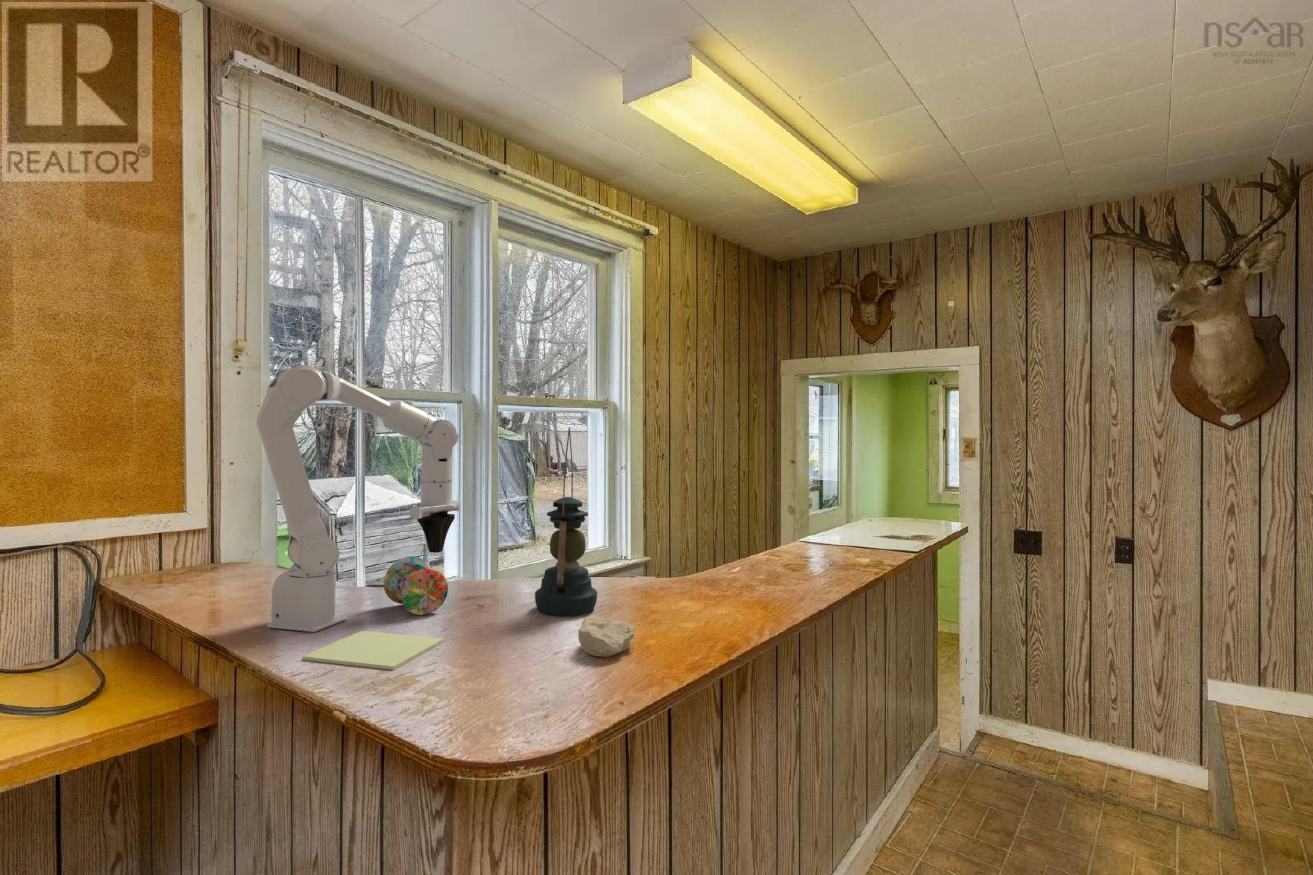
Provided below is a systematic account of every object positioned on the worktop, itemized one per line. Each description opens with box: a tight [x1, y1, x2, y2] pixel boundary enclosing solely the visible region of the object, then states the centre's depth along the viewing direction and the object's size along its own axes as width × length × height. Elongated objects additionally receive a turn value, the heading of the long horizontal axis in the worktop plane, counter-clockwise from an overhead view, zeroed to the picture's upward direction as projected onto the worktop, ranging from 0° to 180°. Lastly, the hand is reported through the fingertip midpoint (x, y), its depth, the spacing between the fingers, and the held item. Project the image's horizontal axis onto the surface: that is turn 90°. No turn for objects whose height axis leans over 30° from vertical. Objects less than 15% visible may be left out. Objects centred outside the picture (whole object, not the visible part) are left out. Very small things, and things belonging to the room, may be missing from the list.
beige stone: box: [577, 615, 636, 658], centre depth 101 cm, size 9×6×10 cm
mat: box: [302, 630, 445, 671], centre depth 99 cm, size 15×13×1 cm
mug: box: [383, 556, 449, 616], centre depth 122 cm, size 12×9×11 cm
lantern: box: [534, 426, 598, 618], centre depth 124 cm, size 14×12×35 cm
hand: (435, 551), depth 125 cm, fingers closed
